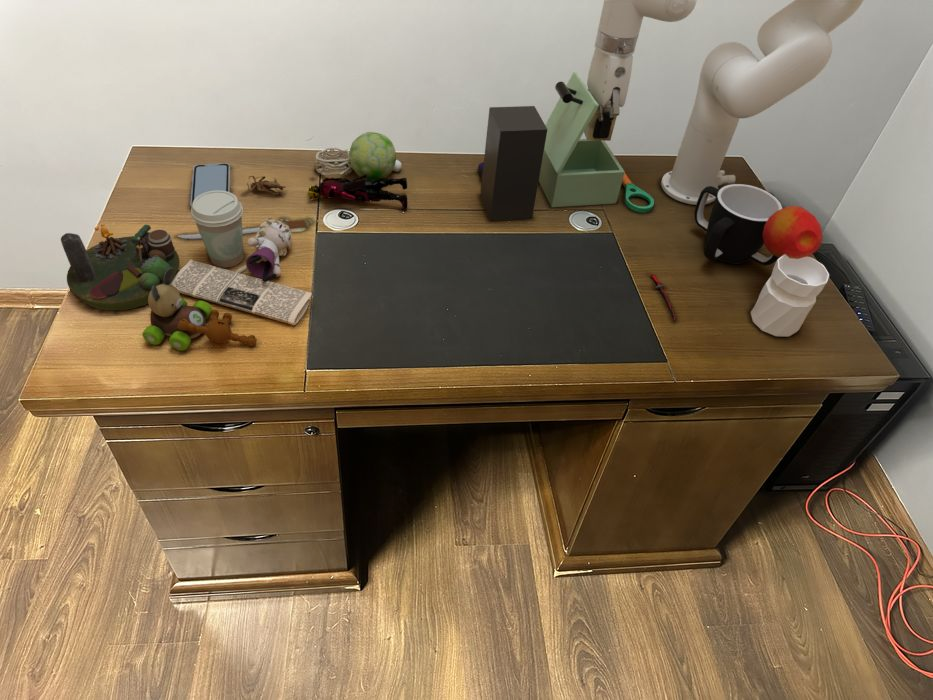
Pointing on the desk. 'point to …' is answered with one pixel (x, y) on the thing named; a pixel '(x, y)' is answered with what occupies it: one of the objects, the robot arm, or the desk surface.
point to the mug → (736, 223)
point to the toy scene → (119, 267)
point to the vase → (789, 295)
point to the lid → (568, 120)
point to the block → (591, 125)
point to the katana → (660, 287)
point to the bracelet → (326, 159)
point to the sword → (293, 226)
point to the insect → (265, 185)
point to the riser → (512, 162)
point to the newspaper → (242, 292)
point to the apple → (792, 233)
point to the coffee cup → (220, 226)
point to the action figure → (359, 189)
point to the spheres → (397, 166)
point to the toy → (268, 249)
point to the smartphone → (210, 179)
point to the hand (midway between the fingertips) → (595, 129)
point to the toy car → (173, 315)
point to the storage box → (583, 176)
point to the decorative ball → (372, 156)
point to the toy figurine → (218, 329)
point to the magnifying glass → (636, 192)
